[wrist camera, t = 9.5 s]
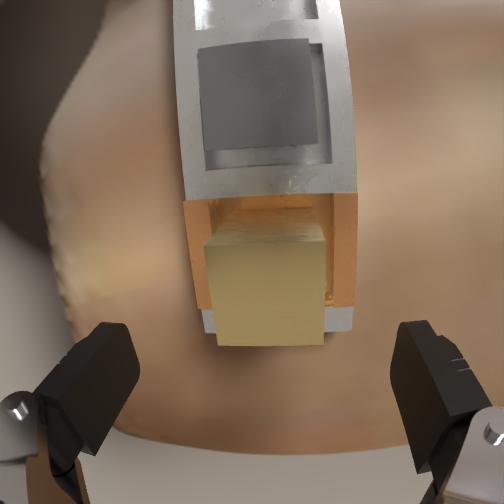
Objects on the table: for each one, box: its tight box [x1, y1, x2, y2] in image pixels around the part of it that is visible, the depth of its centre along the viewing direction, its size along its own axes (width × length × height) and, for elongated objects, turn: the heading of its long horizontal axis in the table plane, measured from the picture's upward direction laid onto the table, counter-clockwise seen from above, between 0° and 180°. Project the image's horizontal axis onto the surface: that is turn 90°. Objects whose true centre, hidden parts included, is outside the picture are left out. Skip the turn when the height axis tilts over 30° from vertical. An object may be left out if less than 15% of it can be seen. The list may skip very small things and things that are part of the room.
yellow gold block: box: [204, 207, 326, 346], centre depth 15 cm, size 4×4×6 cm
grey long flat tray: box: [173, 0, 358, 333], centre depth 15 cm, size 26×9×3 cm, turn 4°
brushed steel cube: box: [198, 38, 318, 151], centre depth 13 cm, size 4×4×5 cm
